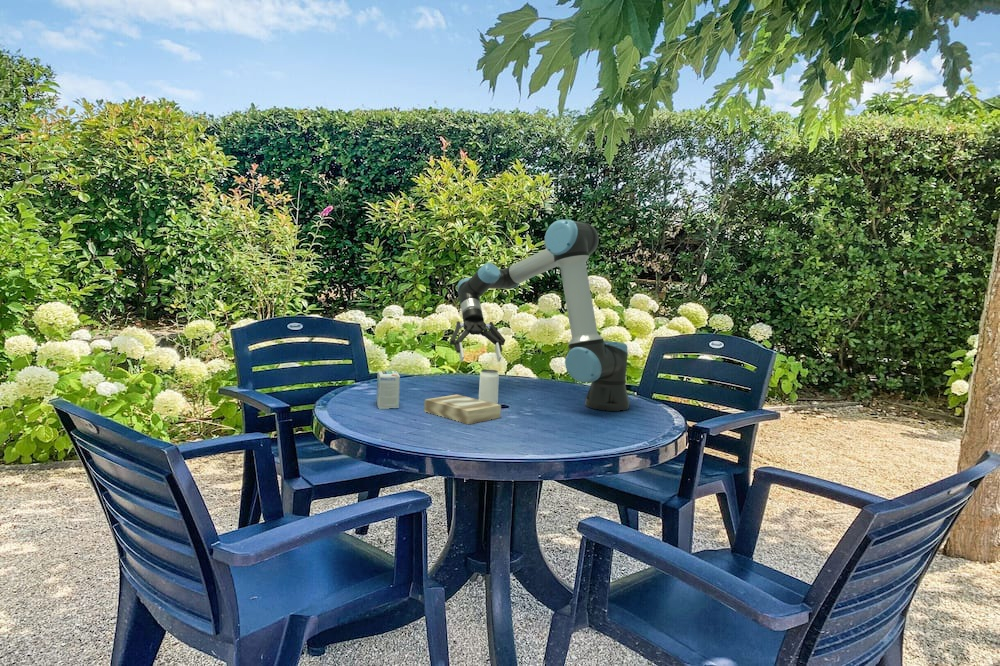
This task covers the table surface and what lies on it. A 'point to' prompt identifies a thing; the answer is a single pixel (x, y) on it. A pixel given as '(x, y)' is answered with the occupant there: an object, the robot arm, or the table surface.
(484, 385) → the can
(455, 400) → the block
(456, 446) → the table surface
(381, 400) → the light bulb box
